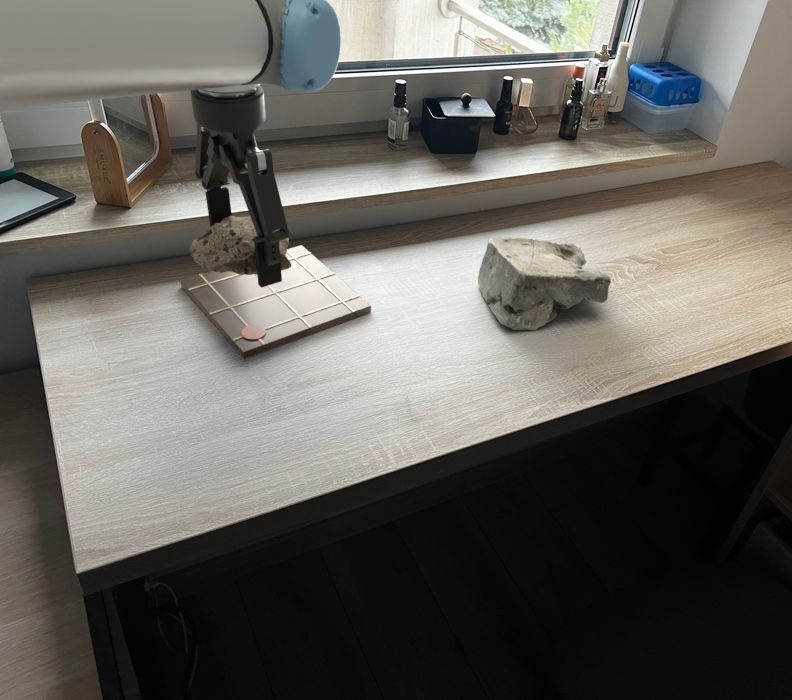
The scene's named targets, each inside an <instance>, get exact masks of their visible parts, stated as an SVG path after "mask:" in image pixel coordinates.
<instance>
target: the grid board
mask: <svg viewBox="0 0 792 700" xmlns="http://www.w3.org/2000/svg"><path fill="white" fill-rule="evenodd" d="M286 257H287V258H288V260H289V261H290V262H291V267H290V268H289V269H285V270H281V275H282V281H281V282H278V283H275V284H271V285H268V286H265V287H262V288H261V287H260V286H259V285H258V275H257V274H252V275H246V274H244V275H240V274H237V273H234V272H223V273H218V272H215V271H207V272H203V273H199V274H197V275H193V276H191V277H187V278H183V279H180V281H179V282H180V287H181V288H182V289H183V291H184V292H185V293H186V294H187V296H189V297H190V299H191V300H192V301H193V302H194V303H195V304H196V306H198V308H199V309H200V310H201V311H202V313H203V314H204V315H205V317H207V318H208V319H209V321H210V322H211V323H212V324H213V325H214V327H216V329H217V330H218V331H219V332H220V333H221V334H222V336H223V337H224V338H225V339H226V340H227V341H228V343H229V344H230V345H231V346H232V347H233V348H234V349H235V351H236V352H237V353H238V354H239V355H240V356H241V357H242V359H243V360H245V359H246V360H247V359H248V358H249V359H250V358H251V357H254V356H256V355H260V354H262V353H264V352H267V351H270V350H273V349H275V348H278V347H281V346H284V345H286V344H289V343H291V342H294V341H297V340H300V339H302V338H306V337H308V336H311V335H313V334H316V333H319V332H321V331H322V332H323V331H325V330H326V329H330V328H332V327H335V326H337V325H341V324H343V323H346V322H349V321H351V320H354V319H357V318H359V317H362V316H365V315H368V314H370V313H371V312H372V305H371V304H370V303H368V302H367V301H366V300H365V299H364V298H363V297H362V296H361V295H360V294H358V293H357V292H356V291H355V290H354V289H353V288H351V286H349V285H348V284H347V283H346V282H344V281H343V280H342V279H341V278H340V277H339V276H338V275H337V274H336V273H335V272H333V271H332V270H331V269H330V268H329V267H327V265H325V264H324V263H323V262H322V261H321V260H319V259H318V258H317V257H316V256H315V255H314V254H313V253H312V252H310V251H309V250H308V249H307V248H306V247H305V246H303V245H302V244H300V245H297V246H293V247H290V248H287V252H286Z"/></svg>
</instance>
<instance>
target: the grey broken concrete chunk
mask: <svg viewBox="0 0 792 700" xmlns="http://www.w3.org/2000/svg"><path fill="white" fill-rule="evenodd" d="M586 264H587V261H586V257H585V254H584V253H583V249H582V248H581V247H579V246H577V245H576V244H573V243H556V242H551V241H548V240H540V239H536V238H535V239H534V238H530V237H492V238H490V239H488V240H487V245H486V250H485V253H484V255H483V258H482V261H481V264H480V267H479V270H478V271H479V272H478V277H477V284H478V287H479V290H480V294H481V295H482V297H483V299H484V300H485V303H488V304H489V305H488V307H489V309H490V310H491V312H492V314H493V315H494V316H495V317H496V319H497V320H498V322H499V324H500V325H503V326H505V327H507V328H510V329H511V330H515V331H517V330H518V331H520V330H527V331H537V329H539V328H540V327H541V328H542V327H544V326H546V324H547V323H550V322H551V321H553V320H554V319H555V318H556V317H557V316H558V313H557V309H561V310H567V309H570V308H571V307H573V306H575V305H578V304H580V303H581V302H582V300H583V299H586V300H588V301H590V302H595V303H597V304H604V303H606V302H607V300H608V297H609V288H610V285H611V284H612V279H611V277H610V275H608V274H606V273H602V272H601V271H599V270H591V269H583V267H584V266H585V265H586Z"/></svg>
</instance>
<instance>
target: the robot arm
mask: <svg viewBox="0 0 792 700" xmlns="http://www.w3.org/2000/svg"><path fill="white" fill-rule="evenodd" d="M341 49H342V29H341V24H340V19H339V15H338V14H337V12H336V10H335V9H334V7H333V6H332V4H331V3H329V1H327V0H0V110H1V111H2V110H10V109H21V108H29V107H39V106H49V105H58V104H60V105H61V104H69V103H70V104H71V103H79V102H88V101H89V102H90V101H98V100H99V101H100V100H110V99H118V98H119V99H120V98H128V97H129V98H130V97H137V96H139V97H140V96H148V95H149V96H150V95H158V94H168V93H178V92H188V91H190V99H191V105H192V114H193V119H194V121H195V124H196V130H197V131H196V145H195V159H194V175H195V178H196V179H197V180H201V186H202V188H203V189H204V190H206V191H205V200H206V207H207V213H208V221H209V228H210V227H212V226H213V225H214V224H215V223H221V221H222V220H223V219H224V218H225V217H228V216H233V214H232V207H231V197H230V196H231V195H230V190H229V188H227V187H226V186H228V185H230V184H231V183H230V180H229V179H228V176H229V174H230V177H231V179H232V182H233V183H234V184H235V185H238V187H239V189H240V191H241V194H242V197H243V199H244V203H245V205H246V209H247V212H248V214H249V217H251V219H252V222H253V225H254V227H255V230H256V233H257V236H256V237H254V238H253V239H252V240H253V242H254V245H255V255H256V265H257V275H258V285H259V286H260V287H261V288H262V287H265V286H268V285H271V284H275V283H278V282H281V281H282V275H281V261H280V248H279V241H281V240H284V239H287V238H289V239H290V231H289V227H288V223H287V220H286V215H285V212H284V207H283V204H282V200H281V195H280V191H279V188H278V184H277V183H278V182H277V180H276V175H275V172H274V164H273V163H274V161H273V154H272V153H271V152H272V151H271V150H270V149H269V148H266V149H262V150H260V149H259V146H258V143H257V141H256V136H255V132H256V130H257V129H258V128H259V127H261V126H262V125H263V124H264V123H265V121H266V118H267V116H266V105H265V104H266V103H265V92H264V91H265V90H264V89H263V87H262V86H261V85H264V84H265V85H274V86H277V87H280V88H283V89H284V90H287V91H299V92H305V93H317V92H319V91H321V90H323V89H324V88H325V87H326V86H327V85H328V84H329V83H330V82H331V81H332V79H333V77H334V75H335V73H336V71H337V69H338V65H339V62H340V58H341ZM223 186H225V187H223Z"/></svg>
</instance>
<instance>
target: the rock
mask: <svg viewBox="0 0 792 700" xmlns="http://www.w3.org/2000/svg"><path fill="white" fill-rule="evenodd" d="M256 236H257V233H256V230H255V227H254V225H253V222H252V219H251V216H242V217H240V216H239V217H238V216H234V215H232V216H228V217H225V218H224V219H223V220H222V221H221V223H215V224H214V225H213V226H212V227H210V226H209V228H207V229H206V231H205V234H204V235H202V236H201V237H198V238H194V239H193V240H192V243H191V244H190V245H189V254H190V256H191V257H192V259H193V260H192V261H193V262H194V263H195V264H199V265H200V266H201V268H203V269H205V270H206V271H207V272H211V271H215V272H218V273H223V272H234V273H237V274H240V275H244V274H246V275H252V274H257V265H256V255H255V245H254V242H253V240H252V239H253V238H254V237H256ZM289 240H290V237H289V238H287V239H284V240H281V241H279V248H280V261H281V270H285V269H289V268H290V267H291V262H290V261H289V260H288V258H287V257H286V252H287V249H288V247H289V245H290V241H289Z"/></svg>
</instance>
